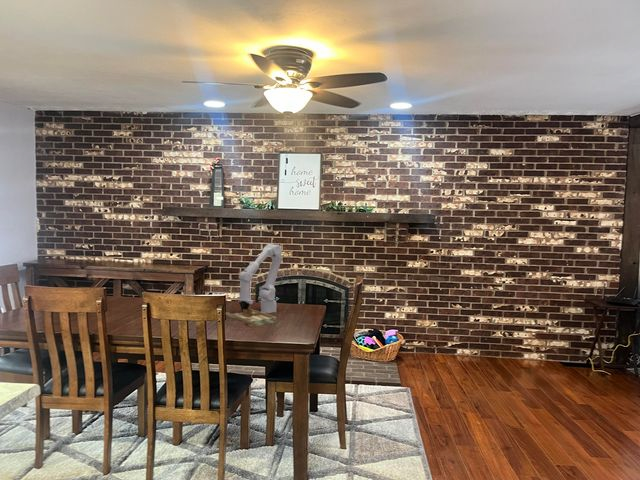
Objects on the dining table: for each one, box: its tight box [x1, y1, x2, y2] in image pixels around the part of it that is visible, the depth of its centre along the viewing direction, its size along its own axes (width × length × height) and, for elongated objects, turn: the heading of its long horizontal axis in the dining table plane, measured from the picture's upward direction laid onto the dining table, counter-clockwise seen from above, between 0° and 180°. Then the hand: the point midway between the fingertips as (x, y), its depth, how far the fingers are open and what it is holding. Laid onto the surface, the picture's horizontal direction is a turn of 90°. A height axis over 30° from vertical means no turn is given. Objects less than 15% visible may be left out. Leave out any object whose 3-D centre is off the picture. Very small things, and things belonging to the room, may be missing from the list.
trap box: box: [225, 308, 278, 328], centre depth 261 cm, size 18×27×3 cm, turn 42°
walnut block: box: [243, 307, 253, 317], centre depth 263 cm, size 4×4×4 cm
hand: (244, 313), depth 266 cm, fingers closed
